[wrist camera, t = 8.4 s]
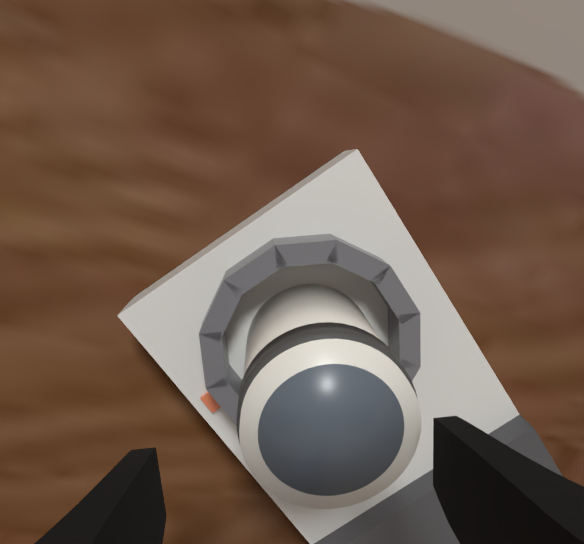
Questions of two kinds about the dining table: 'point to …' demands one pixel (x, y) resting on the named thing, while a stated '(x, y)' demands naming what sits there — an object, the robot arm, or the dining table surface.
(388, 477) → the lens
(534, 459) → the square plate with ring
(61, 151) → the dining table surface
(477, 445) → the robot arm
